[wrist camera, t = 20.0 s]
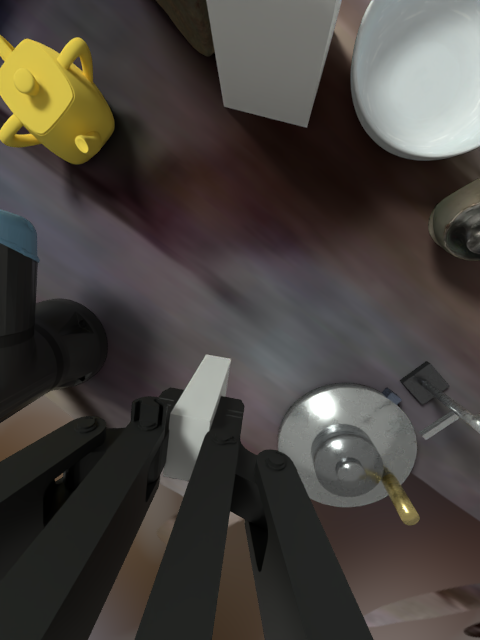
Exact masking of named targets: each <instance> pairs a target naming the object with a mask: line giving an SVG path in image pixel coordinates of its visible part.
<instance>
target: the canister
mask: <svg viewBox="0 0 480 640" xmlns="http://www.w3.org/2000/svg"><path fill="white" fill-rule="evenodd" d="M156 1H157V3H158V4H159V5H160V6H161V7H162V8H163V9H164V10H165V12H166V13H167V14H168V16H169V17H170V18H171V20H172V21H173V23H174V24H175V25H176V27H177V28H178V30H179V31H180V32H181V33H182V34H183V36H184V37H185V38H186V39H187V40H188V42H189V43H190V44H191V45H192V47H193V48H195V49H196V50H197V51H198V52H200V53H201V54H203V55H205V56H211V55H212V54H213V53H214V52H215V50H214V44H213V38H212V32H211V26H210V20H209V14H208V8H207V2H206V0H156Z"/></svg>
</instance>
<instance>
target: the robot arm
mask: <svg viewBox="0 0 480 640" xmlns="http://www.w3.org/2000/svg"><path fill="white" fill-rule="evenodd" d="M38 263H39V258H38V257H37V233H36V230H35V228H34V226H33V225H32V224H31V223H30V222H29V221H28V220H27V219H25V218H23V217H21V216H18V215H16V214H13V213H10V212H7V211H4V210H0V423H1V422H3V421H4V420H6V419H7V418H9V417H10V416H12V415H13V414H15V413H16V412H18V411H20V410H21V409H23V408H24V407H26V406H27V405H29V404H30V403H32V402H34V401H35V400H37V399H38V398H40V397H41V396H43V395H44V394H46V393H48V392H49V391H52V390H57V389H62V388H67V387H72V386H76V385H79V384H81V383H83V382H85V381H87V380H88V379H90V378H91V377H93V376H94V375H95V374H96V373H97V372H98V371H99V370H100V369H101V367H102V366H103V364H104V362H105V359H106V356H107V339H106V335H105V332H104V329H103V327H102V325H101V323H100V322H99V320H98V319H97V318H96V316H95V315H94V314H93V313H92V312H91V311H90V310H88V309H87V308H86V307H84V306H83V305H81V304H79V303H77V302H74V301H71V300H67V299H52V300H47V301H42V302H39V303H36V287H37V267H38ZM230 363H231V359H228V358H223V357H217V356H211V355H206V356H205V357H204V359H203V361H202V362H201V364H200V366H199V367H198V369H197V371H196V372H195V374H194V376H193V377H192V379H191V380H190V382H189V384H188V385H187V387H186V389H185V390H181V389H176V388H169V389H167V390H165V391H163V392H162V393H161V395H160V396H159V398H158V397H142V398H139V399H136V400H135V401H133V402H132V411H131V422H130V423H129V425H128V426H127V427H126V428H112V429H106V423H105V420H103V419H101V418H99V417H95V416H86V417H81V418H77V419H75V420H73V421H71V422H69V423H67V424H65V425H64V426H62V427H60V428H58V429H57V430H55V431H53V432H52V433H50V434H48V435H46V436H44V437H43V438H41V439H39V440H38V441H36V442H34V443H32V444H31V445H29V446H27V447H25V448H24V449H22V450H20V451H18V452H17V453H15V454H13V455H12V456H10V457H8V458H6V459H5V460H3V461H1V462H0V640H88V638H89V636H90V634H91V632H92V629H93V627H94V625H95V623H96V621H97V619H98V617H99V614H100V612H101V610H102V608H103V606H104V603H105V602H106V599H107V597H108V595H109V593H110V591H111V589H112V586H113V584H114V582H115V580H116V577H117V575H118V573H119V571H120V569H121V567H122V565H123V563H124V560H125V558H126V556H127V554H128V552H129V550H130V547H131V545H132V543H133V541H134V539H135V537H136V534H137V532H138V530H139V528H140V526H141V524H142V521H143V519H144V517H145V515H146V512H147V511H148V508H149V506H150V504H151V502H152V500H153V498H154V495H155V493H156V491H157V489H158V487H159V482H160V474H161V472H162V470H163V468H164V475H163V476H165V477H170V478H175V479H180V480H185V481H189V483H188V486H187V489H186V492H185V495H184V498H183V501H182V504H181V506H180V509H179V512H178V515H177V518H176V521H175V524H174V527H173V530H172V533H171V535H170V538H169V541H168V544H167V547H166V550H165V553H164V556H163V559H162V562H161V564H160V567H159V570H158V573H157V576H156V579H155V582H154V585H153V588H152V591H151V594H150V596H149V599H148V602H147V605H146V608H145V611H144V614H143V617H142V620H141V623H140V626H139V628H138V631H137V634H136V638H135V640H212V634H213V626H214V619H215V612H216V605H217V598H218V591H219V584H220V577H221V570H222V563H223V556H224V549H225V542H226V535H227V528H228V521H229V514H230V511H231V512H233V513H234V514H236V515H238V516H240V517H242V518H244V519H245V529H246V534H247V540H248V545H249V551H250V558H251V563H252V569H253V575H254V580H255V586H256V591H257V597H258V603H259V609H260V614H261V620H262V626H263V632H264V637H265V640H373V637H372V635H371V633H370V631H369V629H368V626H367V624H366V622H365V620H364V617H363V615H362V613H361V611H360V609H359V606H358V604H357V602H356V600H355V598H354V595H353V593H352V591H351V589H350V587H349V584H348V582H347V580H346V578H345V575H344V573H343V571H342V569H341V567H340V564H339V562H338V560H337V558H336V556H335V553H334V551H333V549H332V547H331V544H330V542H329V540H328V538H327V536H326V533H325V531H324V529H323V527H322V525H321V522H320V520H319V518H318V516H317V514H316V512H315V509H314V507H313V505H312V502H311V500H310V498H309V496H308V494H307V491H306V489H305V487H304V485H303V483H302V480H301V478H300V476H299V474H298V472H297V469H296V467H295V465H294V463H293V461H292V460H291V459H290V457H288V456H287V455H286V454H284V453H282V452H280V451H277V450H264V451H262V452H260V453H259V454H258V455H255V454H253V453H251V452H250V451H248V450H247V449H245V448H244V447H243V445H242V444H241V441H240V434H241V426H242V419H243V412H244V404H243V403H242V401H241V400H239V399H234V398H229V397H225V395H226V389H227V383H228V376H229V370H230ZM62 473H64V474H63V477H62V478H61V479H59V480H57V481H55V478H57V477H58V476H59V475H61V474H62Z"/></svg>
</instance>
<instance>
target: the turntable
mask: <svg viewBox="0 0 480 640" xmlns="http://www.w3.org/2000/svg"><path fill="white" fill-rule="evenodd" d="M401 400H402V399H401V398H400V397H399V396H398V395H397V394H395V393H394V392H393V391H391V390H390V389H388V388H386V389H385V390H384V391H383V392H380V391H378V390H376V389H374V388H371V387H368V386H365V385H361V384H355V383H335V384H330V385H325V386H322V387H319V388H316V389H314V390H312V391H310V392H308V393H307V394H305V395H303V396H302V397H301V398H299V399H298V400H297V401H296V402H295V403H294V404H293V405H292V406H291V407H290V408H289V410H288V411H287V412H286V414H285V416H284V418H283V420H282V422H281V425H280V428H279V433H278V451H280V452H282V453H284V454H286V455H287V456H288V457H290V459H291V460H292V461H293V463H294V465H295V467H296V469H297V472H298V474H299V476H300V478H301V480H302V483H303V485H304V487H305V489H306V491H307V494H308V496H309V498H311V499H313V500H315V501H317V502H320V503H323V504H326V505H331V506H336V507H357V506H362V505H367V504H371V503H373V502H376V501H379V500H381V499H383V498H385V497H387V496H388V495H389V497H390V498H391V500H392V502H393V504H394V506H395V508H396V510H397V512H398V514H399V516H400V517H401V519H402V521H403V523H405V524H407V525H414V524H416V523H417V522H418V521H419V519H420V518H419V515H418V513H417V511H416V510H415V508H414V506H413V505H412V503H411V501H410V500H409V498H408V496H407V495H406V493H405V492H404V490H403V488H402V486H401V484H402V483H403V482H404V481H405V480H406V478H407V477H408V476H409V474H410V472H411V470H412V468H413V466H414V463H415V460H416V454H417V441H416V435H415V432H414V428H413V426H412V424H411V422H410V420H409V419H408V417H407V416H406V414H405V413H404V412H403V411H402V410H401V409H400V408H399V406H398V405H397V404H398V403H399V402H400V401H401ZM336 424H349V425H353V426H356V427H358V428H360V429H362V430H363V431H364V432H365V433H366V434H367V435H368V436H369V437H370V439H371V441H372V442H373V444H374V446H375V447H376V449H377V451H378V453H379V454H380V456H381V458H382V461H383V466H384V470H383V475H382V478H381V480H380V482H379V483H378V485H377V486H376V487H375V488H374V489H372V490H371V491H369V492H368V493H366V494H363V495H361V496H356V497H342V496H338V495H335V494H332V493H330V492H329V491H327V490H326V489H325V488H324V487H323V486H322V485H321V484H320V483H319V481H318V479H317V477H316V473H315V469H314V465H313V461H312V456H311V446H312V443H313V440H314V439H315V437H316V436H317V434H318V433H320V432H321V431H322V430H323V429H325V428H327V427H329V426H332V425H336Z"/></svg>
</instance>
